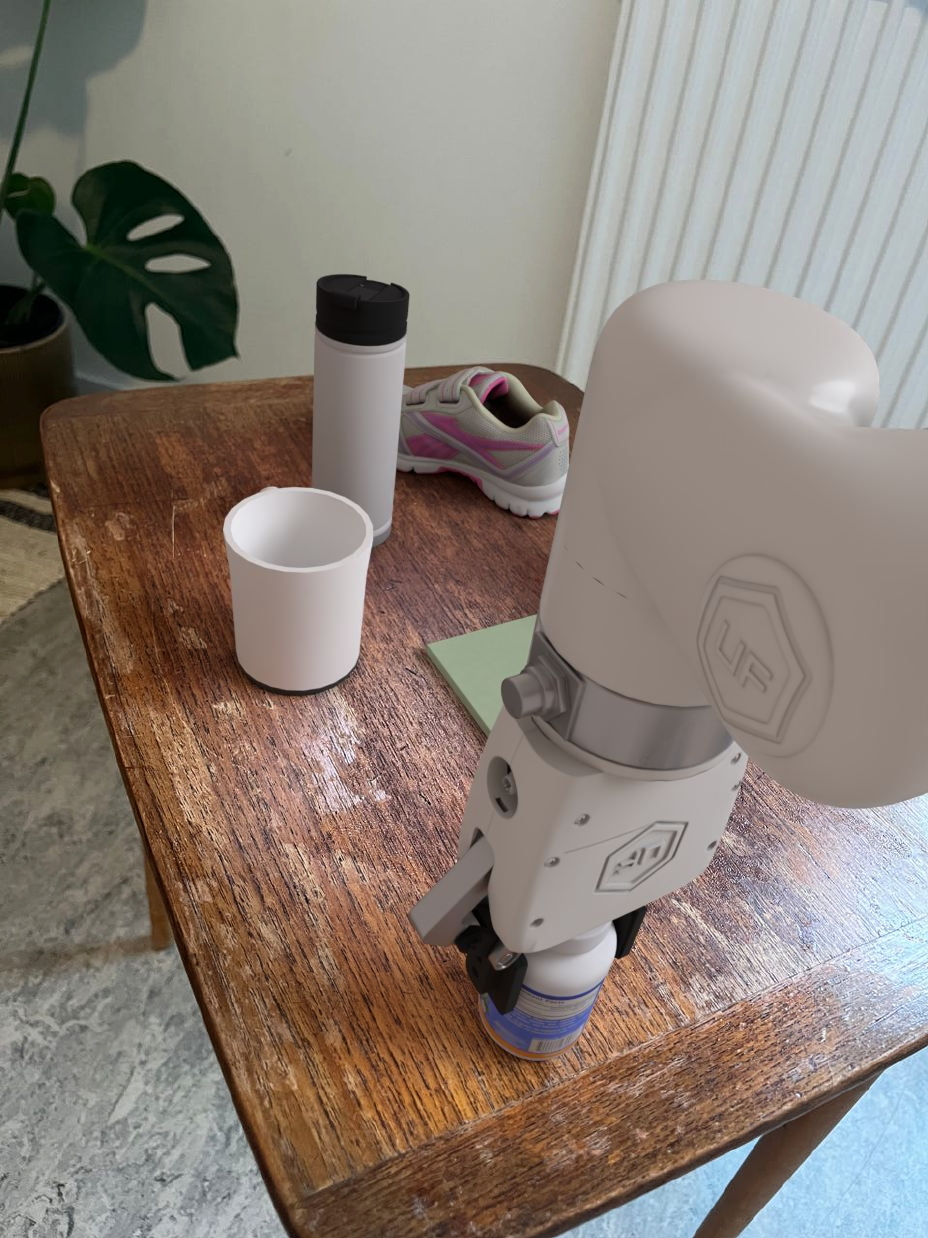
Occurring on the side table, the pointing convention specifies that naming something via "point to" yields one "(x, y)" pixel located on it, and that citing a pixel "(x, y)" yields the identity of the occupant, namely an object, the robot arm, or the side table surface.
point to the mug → (297, 586)
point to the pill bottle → (553, 996)
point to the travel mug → (359, 392)
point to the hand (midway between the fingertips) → (548, 955)
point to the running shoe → (488, 438)
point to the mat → (483, 665)
